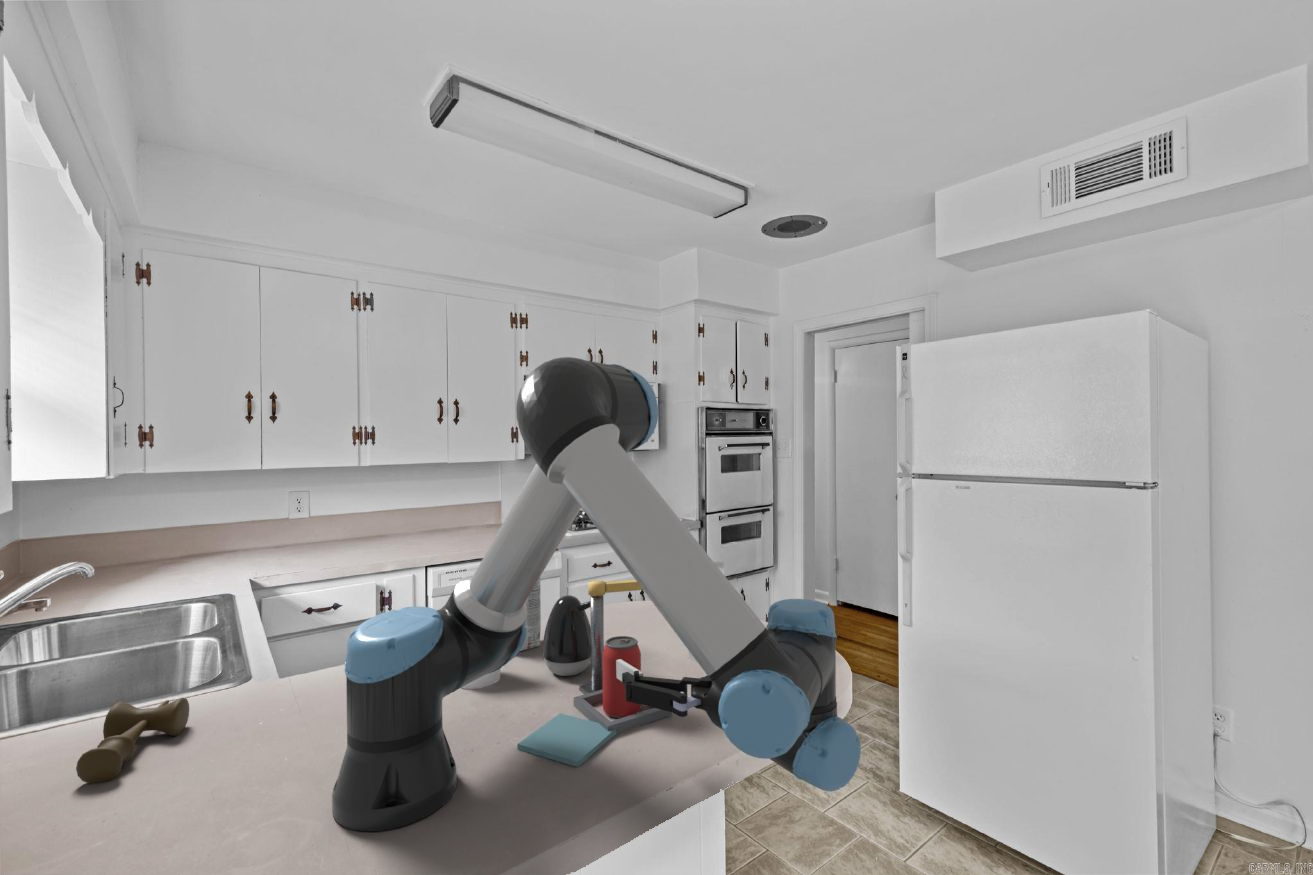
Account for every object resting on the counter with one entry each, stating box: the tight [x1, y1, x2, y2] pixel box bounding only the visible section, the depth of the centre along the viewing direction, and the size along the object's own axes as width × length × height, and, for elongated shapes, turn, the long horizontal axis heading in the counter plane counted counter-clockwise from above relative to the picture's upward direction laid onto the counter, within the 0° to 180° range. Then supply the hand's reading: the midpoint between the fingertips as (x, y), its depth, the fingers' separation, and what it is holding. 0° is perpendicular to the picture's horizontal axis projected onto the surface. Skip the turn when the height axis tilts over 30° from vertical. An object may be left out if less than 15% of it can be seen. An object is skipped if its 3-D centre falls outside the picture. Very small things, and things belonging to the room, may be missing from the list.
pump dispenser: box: [542, 594, 591, 677], centre depth 121 cm, size 10×10×15 cm
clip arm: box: [587, 579, 644, 596], centre depth 113 cm, size 16×3×4 cm, turn 107°
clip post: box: [578, 595, 605, 695], centre depth 111 cm, size 5×5×18 cm
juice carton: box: [518, 577, 542, 653], centre depth 134 cm, size 9×8×24 cm
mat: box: [516, 713, 617, 768], centre depth 94 cm, size 11×11×1 cm
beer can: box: [602, 635, 642, 719], centre depth 104 cm, size 7×7×12 cm
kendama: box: [75, 697, 190, 784], centre depth 92 cm, size 6×10×20 cm
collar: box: [573, 690, 673, 734], centre depth 104 cm, size 12×12×2 cm
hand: (655, 658), depth 95 cm, fingers open, 13 cm apart
